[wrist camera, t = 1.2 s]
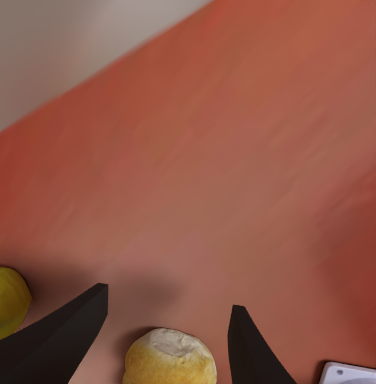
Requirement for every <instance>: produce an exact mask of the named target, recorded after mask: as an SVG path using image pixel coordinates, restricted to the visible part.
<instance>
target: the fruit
mask: <svg viewBox="0 0 376 384" xmlns="http://www.w3.org/2000/svg"><path fill="white" fill-rule="evenodd" d="M31 300H32V297H31V294H30V292H29V290H28V287H27V285H26V283H25V281H24V279H23V278H22V277H21V276H20V275H19V273H18V272H16V271H15V270H13V269H11V268H4V267H0V340H1V339H3V338H5V337H7V336H9V335H12V334H13V333H14V332H15V331H16V330H17V329H18V328H19V327H20V325H21V324H22V322H23V321H24V318H25V316H26V313H27V311H28V308H29V305H30V303H31Z"/></svg>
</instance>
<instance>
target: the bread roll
mask: <svg viewBox="0 0 376 384" xmlns="http://www.w3.org/2000/svg"><path fill="white" fill-rule="evenodd" d="M125 370H126V372H125V374H124V377H123V380H122V384H216V381H217V380H216V375H217V371H216V366H215V361H214V359H213V357H212V354H211V352H210V351H209V350H208V348H207V347H206V346H205V344H203V343H202V342H201V341H200V340H199V339H198V338H196V337H194V336H191V335H188V334H185V333H183V332H181V331H178V330H173V329H165V328H157V329H154V330H152V331H150V332H148V333H147V334H145V335H144V336H142V337H140V338H139V339H137V340H136V341H135V342H134V343H133V344H132V346H131V347H130V349H129V350H128V352H127V354H126V358H125Z"/></svg>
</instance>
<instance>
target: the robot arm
mask: <svg viewBox="0 0 376 384" xmlns="http://www.w3.org/2000/svg"><path fill="white" fill-rule="evenodd" d="M107 314H108V284H102V283H97V284H96V285H94V286H93V287H91V288H90V289H88V290H87V291H85V292H84V293H82V294H81V295H79V296H78V297H76V298H75V299H73V300H72V301H70V302H69V303H67V304H66V305H64V306H62V307H61V308H59V309H57V310H56V311H54V312H52V313H51V314H49V315H48V316H46V317H44V318H42V319H41V320H39V321H37V322H35V323H33V324H32V325H30V326H28V327H26V328H24V329H22V330H20V331H18V332H16V333H14V334H12V335H9V336H7V337H5V338H3V339H1V340H0V384H68V382H69V381H70V379H71V377H72V376H73V374H74V372H75V371H76V369H77V368H78V366H79V364H80V363H81V361H82V359H83V358H84V356H85V355H86V353H87V351H88V350H89V348H90V346H91V345H92V343H93V342H94V340H95V338H96V337H97V335H98V333H99V331H100V329H101V327H102V325H103V323H104V321H105V319H106V317H107ZM228 354H229V363H230V369H231V376H232V383H233V384H297V383H296V382H295V381H294V380H293V378H292V377H291V376H290V375H289V373H288V372H287V371H286V369H285V368H284V367H283V366H282V364H281V363H280V362H279V360H278V359H277V357H276V356H275V355H274V353H273V352H272V350H271V349H270V347H269V346H268V344H267V343H266V341H265V340H264V338H263V337H262V335H261V334H260V332H259V330H258V329H257V327H256V325H255V324H254V322H253V320H252V319H251V317H250V315H249V313H248V312H247V310H246V308H245V307H244V306H239V305H233V307H232V313H231V318H230V324H229V329H228ZM319 384H376V370H374V369H368V368H363V367H357V366H352V365H346V364H340V363H335V362H328V363H326V365H325V367H324V370H323V373H322V376H321V379H320V383H319Z"/></svg>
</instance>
